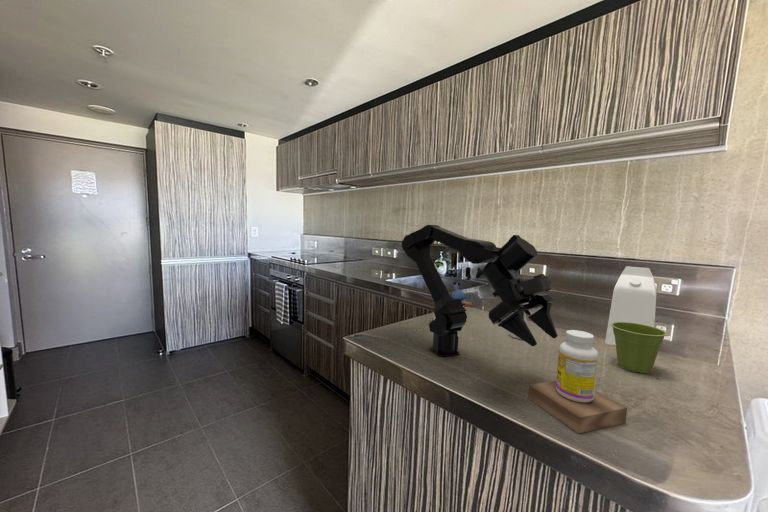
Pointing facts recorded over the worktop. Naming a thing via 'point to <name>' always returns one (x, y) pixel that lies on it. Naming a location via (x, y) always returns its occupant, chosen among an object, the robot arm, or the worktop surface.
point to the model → (462, 296)
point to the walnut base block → (578, 408)
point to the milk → (633, 300)
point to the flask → (526, 324)
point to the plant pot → (637, 345)
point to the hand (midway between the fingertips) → (545, 341)
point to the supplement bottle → (577, 367)
